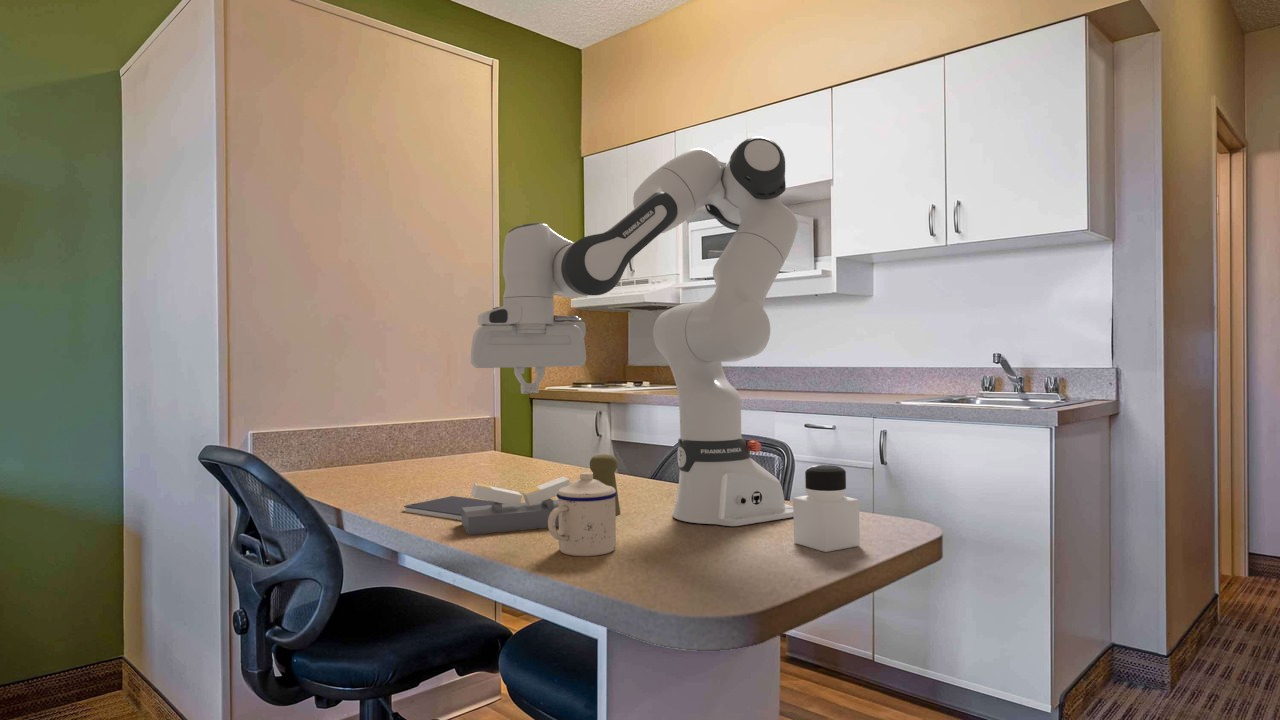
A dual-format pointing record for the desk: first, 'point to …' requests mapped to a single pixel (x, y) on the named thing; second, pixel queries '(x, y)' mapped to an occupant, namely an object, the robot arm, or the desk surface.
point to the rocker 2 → (544, 491)
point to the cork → (606, 473)
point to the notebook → (445, 506)
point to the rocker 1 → (496, 494)
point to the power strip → (507, 517)
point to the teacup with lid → (585, 518)
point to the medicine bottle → (826, 511)
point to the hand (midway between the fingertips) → (529, 393)
